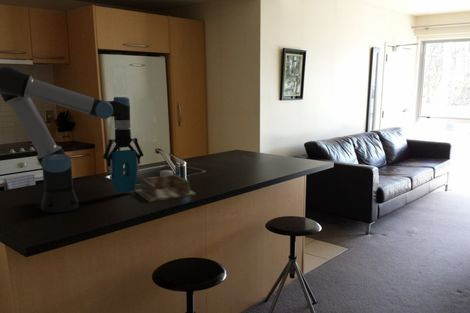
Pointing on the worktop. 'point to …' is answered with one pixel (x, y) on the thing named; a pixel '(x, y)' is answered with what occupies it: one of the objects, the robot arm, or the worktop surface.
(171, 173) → the grey rounded piece
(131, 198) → the worktop surface
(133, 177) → the block
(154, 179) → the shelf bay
